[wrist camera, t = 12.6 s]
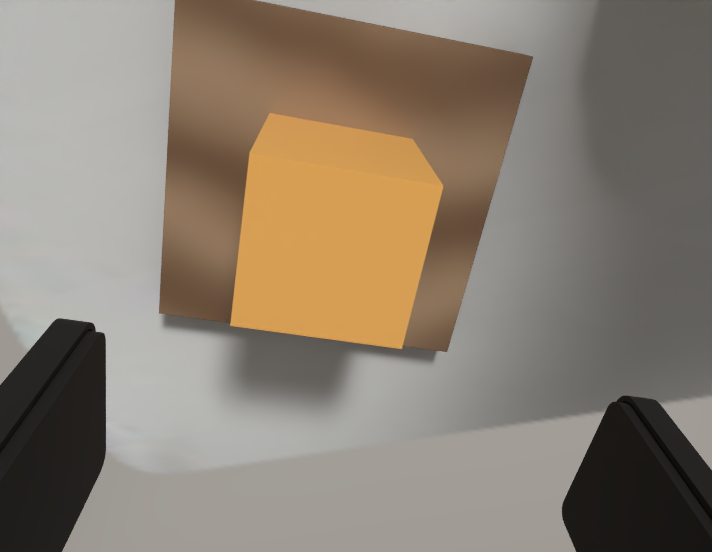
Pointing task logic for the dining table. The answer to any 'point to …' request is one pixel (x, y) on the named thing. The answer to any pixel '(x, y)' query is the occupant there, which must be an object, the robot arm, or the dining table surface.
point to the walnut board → (332, 106)
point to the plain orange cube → (333, 232)
